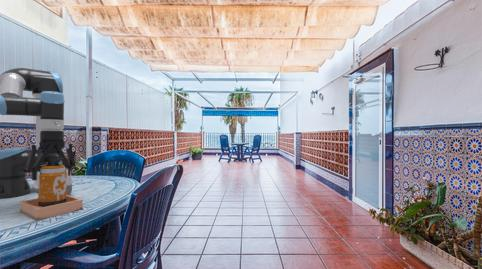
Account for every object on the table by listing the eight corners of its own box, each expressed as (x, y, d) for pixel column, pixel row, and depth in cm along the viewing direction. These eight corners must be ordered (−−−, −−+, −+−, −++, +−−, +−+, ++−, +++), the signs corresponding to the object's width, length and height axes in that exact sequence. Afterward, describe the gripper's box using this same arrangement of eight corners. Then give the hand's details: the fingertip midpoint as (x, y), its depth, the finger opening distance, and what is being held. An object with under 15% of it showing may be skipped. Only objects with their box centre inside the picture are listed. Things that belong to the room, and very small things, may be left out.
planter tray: (19, 211, 94) (19, 201, 94) (63, 202, 107) (63, 193, 107) (36, 220, 85) (37, 209, 85) (82, 209, 98) (82, 199, 98)
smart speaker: (52, 200, 110) (52, 170, 110) (44, 197, 115) (44, 168, 115) (75, 195, 118) (75, 167, 118) (66, 193, 123) (67, 166, 123)
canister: (50, 209, 90) (51, 157, 90) (27, 207, 92) (27, 155, 92) (72, 202, 99) (72, 154, 99) (50, 200, 101) (50, 153, 101)
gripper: (20, 129, 85) (20, 193, 85) (85, 130, 103) (85, 182, 103) (13, 129, 89) (13, 190, 89) (77, 130, 107) (77, 180, 107)
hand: (51, 186), depth 96 cm, fingers closed on canister, 9 cm apart
